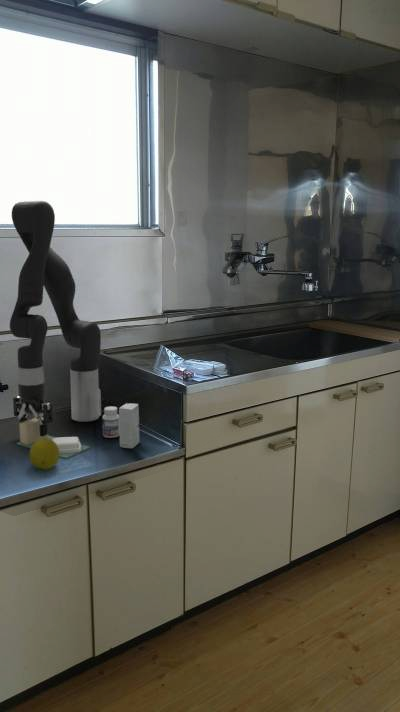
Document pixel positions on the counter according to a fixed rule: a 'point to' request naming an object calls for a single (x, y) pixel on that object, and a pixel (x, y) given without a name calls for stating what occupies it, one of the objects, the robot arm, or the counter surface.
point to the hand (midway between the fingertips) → (33, 432)
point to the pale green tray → (38, 436)
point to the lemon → (44, 454)
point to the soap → (68, 444)
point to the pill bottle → (110, 422)
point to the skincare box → (129, 425)
